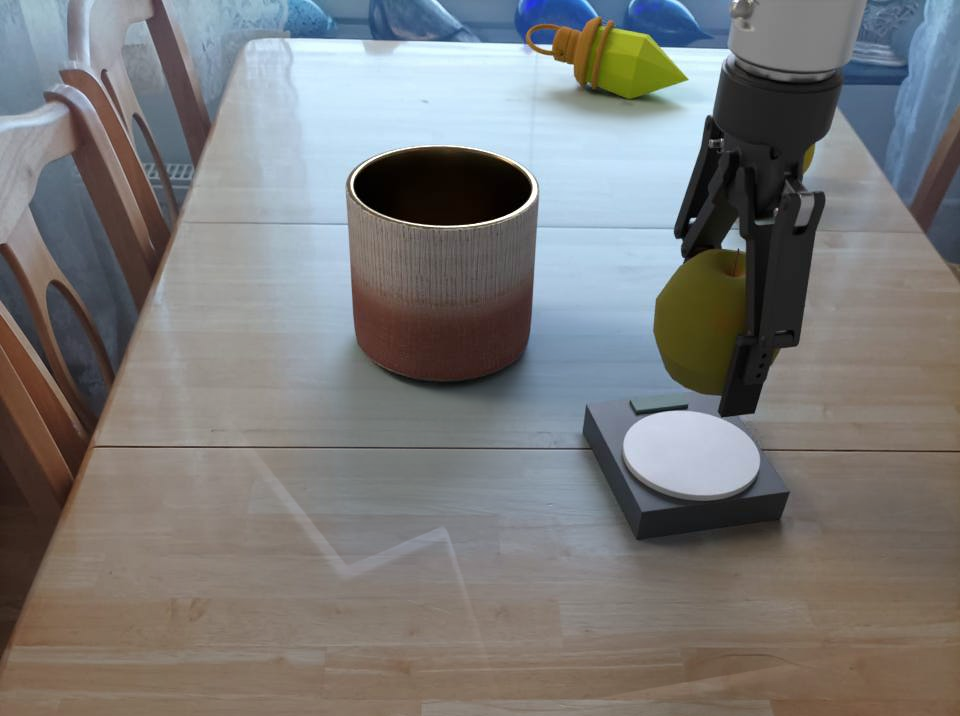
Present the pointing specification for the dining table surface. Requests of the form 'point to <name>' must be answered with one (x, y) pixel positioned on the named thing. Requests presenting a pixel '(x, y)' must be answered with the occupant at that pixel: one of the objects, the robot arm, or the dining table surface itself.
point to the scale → (682, 464)
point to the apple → (702, 319)
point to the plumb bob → (612, 58)
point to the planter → (442, 260)
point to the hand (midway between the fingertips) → (709, 373)
